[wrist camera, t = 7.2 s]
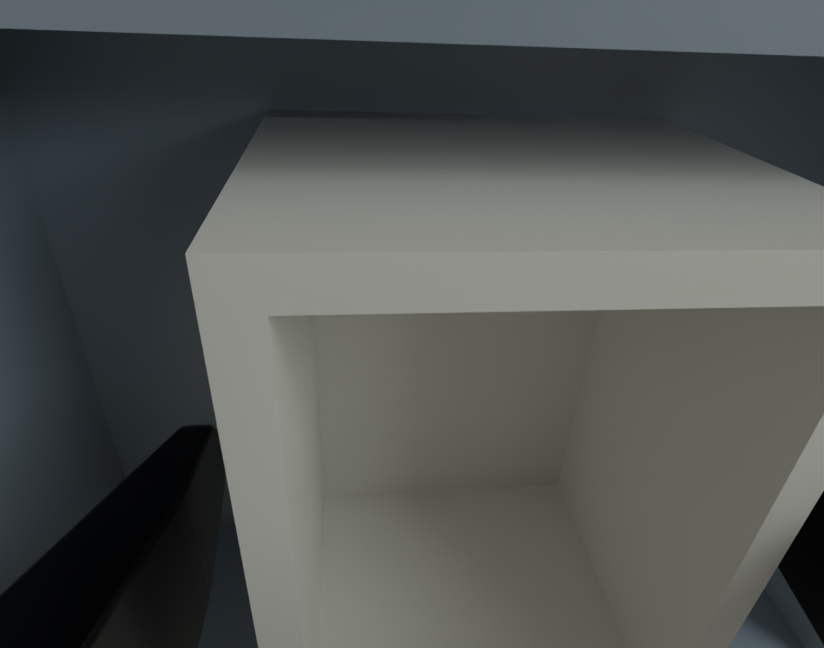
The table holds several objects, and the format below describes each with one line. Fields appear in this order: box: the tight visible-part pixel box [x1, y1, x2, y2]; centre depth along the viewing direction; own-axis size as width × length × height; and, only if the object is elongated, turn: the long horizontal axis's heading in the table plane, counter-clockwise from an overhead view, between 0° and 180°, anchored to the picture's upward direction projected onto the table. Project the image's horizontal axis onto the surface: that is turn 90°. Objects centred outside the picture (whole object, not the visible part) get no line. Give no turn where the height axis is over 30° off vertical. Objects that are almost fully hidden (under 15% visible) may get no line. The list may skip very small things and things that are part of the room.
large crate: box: [0, 0, 824, 648], centre depth 9 cm, size 11×14×5 cm
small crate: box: [185, 110, 824, 648], centre depth 8 cm, size 8×6×5 cm
